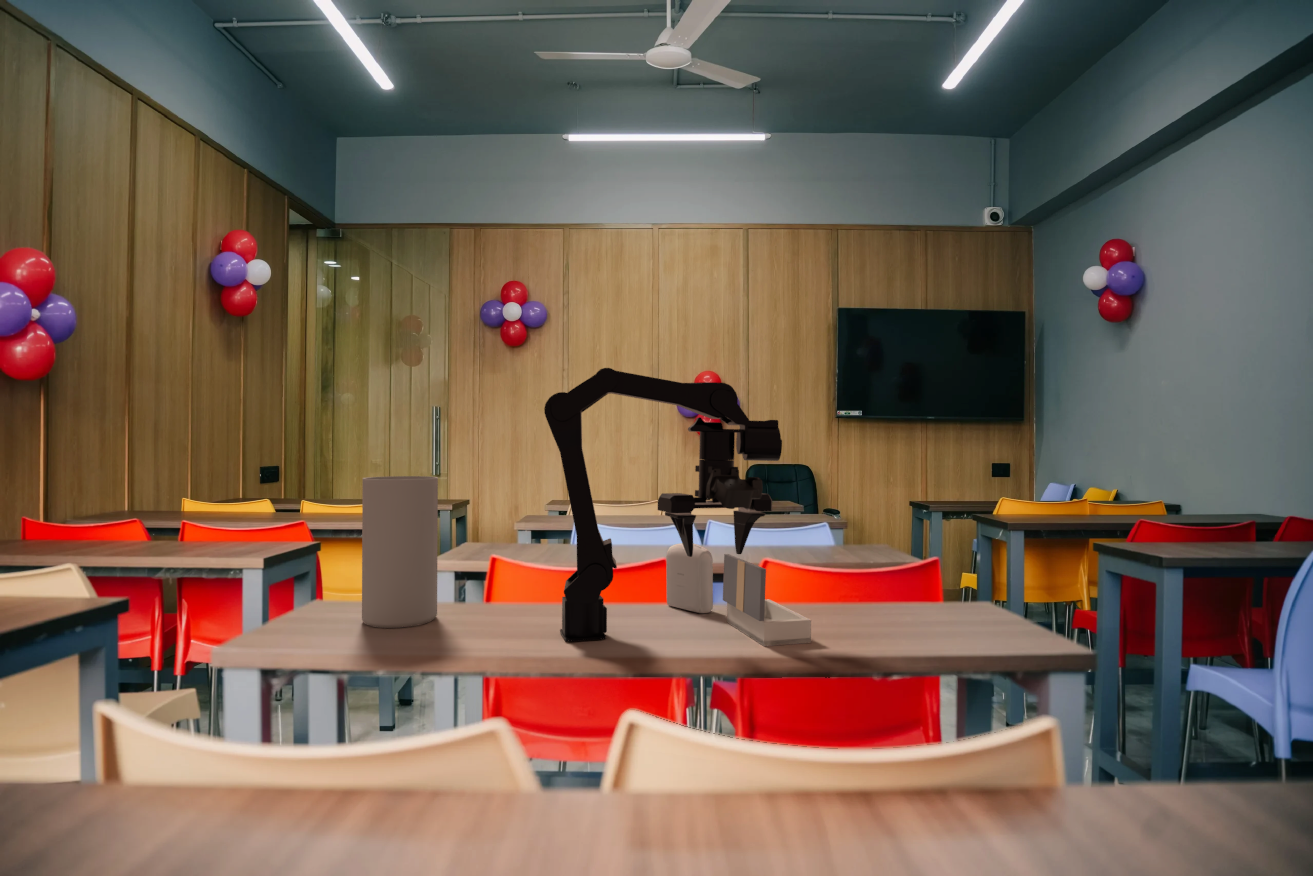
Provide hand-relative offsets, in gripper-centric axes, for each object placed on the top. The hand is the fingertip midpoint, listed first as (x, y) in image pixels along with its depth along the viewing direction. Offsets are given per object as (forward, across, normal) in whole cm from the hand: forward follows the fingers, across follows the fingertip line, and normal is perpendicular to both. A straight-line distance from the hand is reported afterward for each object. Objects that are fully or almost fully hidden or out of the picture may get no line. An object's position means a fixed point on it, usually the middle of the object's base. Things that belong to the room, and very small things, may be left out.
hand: (714, 555), depth 125 cm
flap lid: (+5, +5, -2) cm, 7 cm away
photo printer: (+13, +5, +18) cm, 23 cm away
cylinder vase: (+14, -46, +31) cm, 57 cm away
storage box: (+13, +9, -2) cm, 16 cm away
